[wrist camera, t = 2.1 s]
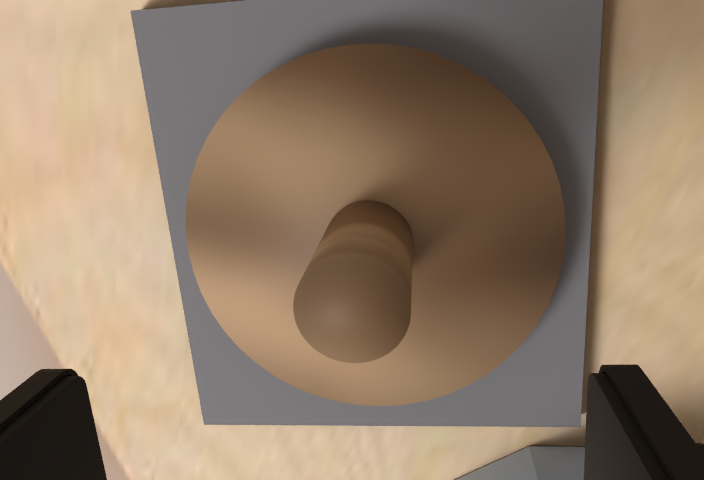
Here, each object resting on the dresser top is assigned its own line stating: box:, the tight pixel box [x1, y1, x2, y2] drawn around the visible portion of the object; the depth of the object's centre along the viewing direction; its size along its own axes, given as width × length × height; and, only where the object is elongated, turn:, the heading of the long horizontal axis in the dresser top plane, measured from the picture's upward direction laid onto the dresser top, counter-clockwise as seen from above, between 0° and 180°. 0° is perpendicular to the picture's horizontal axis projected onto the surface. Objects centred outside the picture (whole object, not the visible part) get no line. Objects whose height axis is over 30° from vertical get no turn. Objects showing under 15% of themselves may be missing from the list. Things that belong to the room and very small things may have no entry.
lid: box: [186, 44, 566, 406], centre depth 17 cm, size 12×12×6 cm
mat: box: [131, 0, 603, 427], centre depth 20 cm, size 15×14×1 cm
